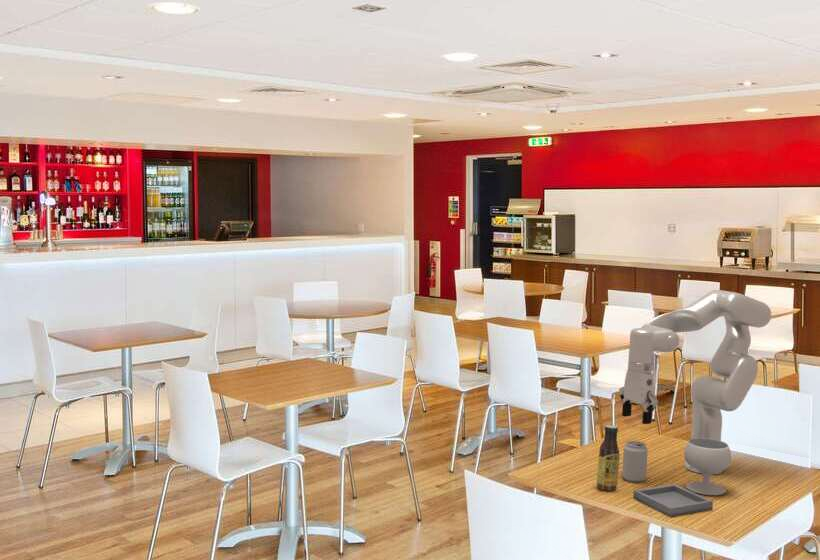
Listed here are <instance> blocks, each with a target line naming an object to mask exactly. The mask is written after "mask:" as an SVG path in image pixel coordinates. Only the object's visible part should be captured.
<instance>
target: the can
mask: <svg viewBox="0 0 820 560" xmlns="http://www.w3.org/2000/svg"><path fill="white" fill-rule="evenodd" d="M646 446H647V445H646V443H645V442H641V441H636V440H629V441H626V442H625V445H624V446H623V455H622V457H623V458H622V469H621V470H622V471H621V472H622V473H621V474H622V475H621V476H622V478H624V480H625V481H627V482H630V483H642V482H644V480H646V479H647V468H648V452H649V450H648V448H647V447H646Z"/></svg>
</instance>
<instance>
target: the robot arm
mask: <svg viewBox="0 0 820 560" xmlns="http://www.w3.org/2000/svg"><path fill="white" fill-rule="evenodd" d="M721 317H723V318H724V320H725V321H724V322H725V326H726V327H725V328H726V331H725V335H724V337H723V338H722V341H721V343H720V344H719V346H718V348H717V349H716V351H715V352H714V355H713V357H712V359H711V360H710V364H709V368H710V369H709V370H710V372H712V373H713V374H714V375H716V376H717V377H720V378H717V377H714V376H709V375H702V376H701V375H700V376H698V377H696V378H695V379H694V381H693V382H692V384H691V387H690V394H691V401H692V402H691V403H692V417H691V418H692V419H691V435H690V436H691V437H690V440H691V439H694V438H709V439H715V440H719V441H722V429H723V415H722V411H725V412H734V411H736V410H737V409H738V408H739V407H740V406H741V405H742V403H743V402H744V400H745V399H746V397H747V395H748V393H749V391H750V389H751V388H752V386H753V385H754V383H755V380H756V379H757V376H758V371H759V365H758V361H757V360H756V358H754V356H753V355H750V354H747V352H748V350H749V348H750V346H751V342H752V339H751V333H750V332H751V331H750V328H749V327H752V328H756V329H757V328H763V327H765V326H767V325H768V324H769V323H770V322H771V319H772V310H771V308H770V307H769V305H768V304H767V303H765V302H763V301H760V300H758V299H755V298H753V297H750V296H747V295H745V294H742V293H739V292H735V291H729V290H728V291H727V290H723V289H714V290H711V291H709V292H708V293H706V294H705V295H703V296H701V297H700V298H699V299H697V300H695V301H694V302H692V303H691V304H688V305H687V306H685V307H684V308H680V309H676V310H673V311H670V312H665V313H663V314H660V315H658V316H655V317H654V318H652V319H651V320H648V321H647V322H646V323H645V324H643V325H642V326H641V327H636V328H633V329H631V331H630V334H629V345H628V346H629V348H628V349H629V350H628V361H627V362H628V365H627V369H626V370H627V371H626V373H625V377H624V378H625V379H624V386H622V387H620V388H619V390H618V391H619V395H620V396H619V397H620V399H621V404H622V411H621V413H622V414H621V417H630V416H632V406H633V405H632V403H631V402H633V403H635V404H638V405H641V406H642V408H643V410H644V411H642V420H641V423H642V425H649V424H650V425H651V424H652V419H653V417H652V416H653V412H654V410H655V409H656V408H657V405H658V403H659V399H658V398H656V396H655V394H656V392H655V391H656V387H655V386H656V385H655V384H656V383H655V375H654V373H653V370H654V368H653V363H654V352H660V353H671V352H674V351H675V350H676V349H677V348H678V347H679V345H680V337H679V335H678V334H677V333H687V332H689V333H690V332H696V331H700V330H702V329H703V328H704V327H706V326H707V325H710V324H711V323H712V322H714V321H716V320H717V319H718V318H721ZM721 378H724V379H726V380H723V379H721ZM684 468H685V469H686V470H688V471H691V472H693V473H698V474H701V473H700V472H699V471H698V470H697V469H695V468H693V467H692V466H691V465H689V464H688V463H687V461H686V460H685V462H684ZM724 470H725V469H724ZM724 470H721V471H718V472H716V473H714V474H713V475H718V474H719V475H720V474H722V473H724Z"/></svg>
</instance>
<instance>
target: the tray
mask: <svg viewBox="0 0 820 560" xmlns="http://www.w3.org/2000/svg"><path fill="white" fill-rule="evenodd" d="M632 496H633V497H632V499H633V500H636V501H638V502H640V503H642V504H644V505H645V506H647V507H649V508H652V509H653V510H655V511H657V512H660V513H661V514H664V515H665V516H667V517H670V518H671V517H672V518H673V517H679V516H683V515H690V514H693V513H694V514H695V513H701V512H706V511H707V512H708V511H712V510H713V506H714V505H713V504H714V502H713V500H711V499H710V498H709V499H708V498H707V497H704V496H702V495H700V494H699V493H695V492H692V491H690V490H688V489H687V488H685V487H682V486H680V485H679V484H678V485H677V484H675V483H673V484H666V485H660V486H654V487H653V486H652V487H647V488H640V489H634V490H633V495H632Z"/></svg>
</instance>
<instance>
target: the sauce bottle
mask: <svg viewBox="0 0 820 560" xmlns="http://www.w3.org/2000/svg"><path fill="white" fill-rule="evenodd" d="M618 433H619V427H618V425H612V424H606V425H604V438H603V439H604V440H603V441H602V442H601V444H600V447H599V453H598V460H597V461H598V462H597V473H596V488H597V489H598V490H601V491H605V492H613V491H615V490H616V489H617V485H618V479H619V478H618V477H619V476H618V475H619V467H620V466H619V465H620V454H621V453H620V450H619V445H618V441H617V440H618Z"/></svg>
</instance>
